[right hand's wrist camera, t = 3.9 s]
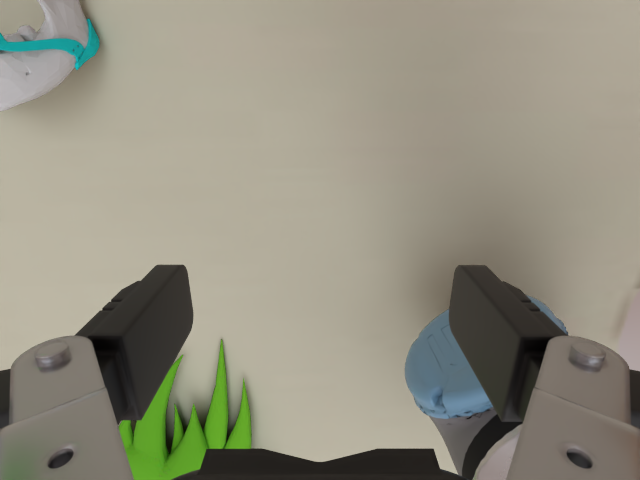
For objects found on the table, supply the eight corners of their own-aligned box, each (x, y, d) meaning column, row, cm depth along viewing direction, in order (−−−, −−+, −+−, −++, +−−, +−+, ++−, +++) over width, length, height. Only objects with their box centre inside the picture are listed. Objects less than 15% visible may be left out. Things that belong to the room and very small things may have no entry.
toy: (261, 523, 57) (329, 367, 49) (253, 560, 52) (328, 393, 44) (86, 465, 56) (127, 295, 48) (61, 497, 51) (102, 314, 43)
